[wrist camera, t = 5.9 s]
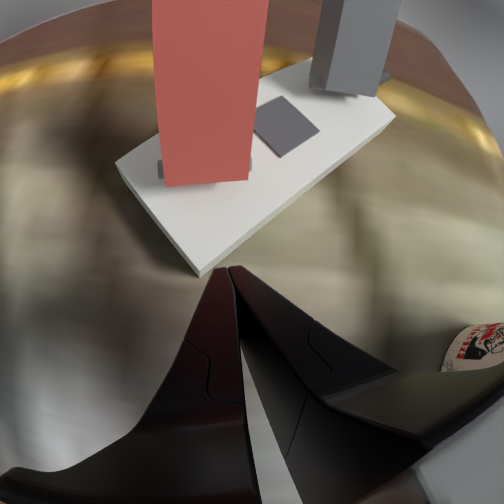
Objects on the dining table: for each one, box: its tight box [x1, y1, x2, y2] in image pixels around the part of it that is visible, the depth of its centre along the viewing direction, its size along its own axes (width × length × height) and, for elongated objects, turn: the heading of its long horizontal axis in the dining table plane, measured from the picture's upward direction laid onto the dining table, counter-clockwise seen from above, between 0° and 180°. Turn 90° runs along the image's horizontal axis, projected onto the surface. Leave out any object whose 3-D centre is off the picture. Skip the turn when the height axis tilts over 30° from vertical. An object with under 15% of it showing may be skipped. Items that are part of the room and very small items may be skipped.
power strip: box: [115, 57, 396, 278], centre depth 19 cm, size 25×8×3 cm, turn 132°
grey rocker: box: [309, 0, 401, 98], centre depth 15 cm, size 3×5×10 cm, turn 99°
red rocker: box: [152, 0, 269, 187], centre depth 11 cm, size 3×5×10 cm, turn 99°
